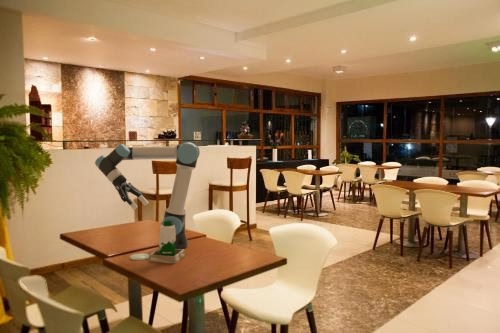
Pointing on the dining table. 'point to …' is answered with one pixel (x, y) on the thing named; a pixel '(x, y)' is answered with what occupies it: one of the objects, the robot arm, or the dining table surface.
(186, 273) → the dining table surface
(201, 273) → the dining table surface
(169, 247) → the soya milk
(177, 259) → the dock
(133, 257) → the pale green disc
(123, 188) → the robot arm
